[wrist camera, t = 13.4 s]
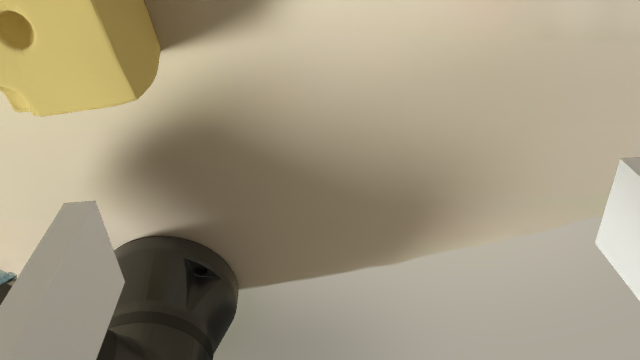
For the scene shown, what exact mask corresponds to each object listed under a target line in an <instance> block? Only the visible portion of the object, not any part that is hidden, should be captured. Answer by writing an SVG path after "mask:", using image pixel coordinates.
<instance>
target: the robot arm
mask: <svg viewBox="0 0 640 360" xmlns="http://www.w3.org/2000/svg"><path fill="white" fill-rule="evenodd" d="M595 244H596V245H597V247H598V248H599V249H600V250H601V252H602V253H603V254H604V256H605V257H606V258H607V259H608V261H609V262H610V263H611V264H612V266H613V267H614V268H615V270H616V271H617V272H618V273H619V275H620V276H621V277H622V279H623V280H624V281H625V283H626V284H627V285H628V287H629V288H630V289H631V290H632V291H633V293H634V294H635V296H636V297H637V298H638V299H639V300H640V157H635V158H623V159H620V162H619V165H618V168H617V172H616V175H615V178H614V182H613V185H612V188H611V192H610V195H609V198H608V202H607V205H606V208H605V211H604V215H603V218H602V221H601V225H600V228H599V232H598V235H597V238H596V242H595ZM16 276H17V275H16V274H14V273H12V272H10V273H7V272H4V271H2V270H0V360H213V355H214V353H215V351H216V349H217V348H218V346H219V344H220V342H221V341H222V339H223V337H224V335H225V333H226V332H227V330H228V328H229V326H230V325H231V323H232V321H233V319H234V316H235V313H236V308H237V300H238V284H237V280H236V278H235V275H234V273H233V271H232V270H231V268H230V267H229V266H228V264H227V263H226V262H225V261H224V260H223V259H222V258H221V257H220V256H218V255H217V254H216V253H214V252H213V251H211V250H210V249H208V248H206V247H204V246H202V245H200V244H197V243H195V242H192V241H188V240H185V239H180V238H174V237H148V238H142V239H138V240H135V241H132V242H129V243H127V244H125V245H123V246H121V247H119V248H118V249H116V250H115V251H114V250H113V248H112V245H111V242H110V239H109V237H108V234H107V231H106V228H105V226H104V223H103V220H102V218H101V215H100V212H99V209H98V207H97V204H96V201H85V202H73V203H64V204H63V206H62V208H61V209H60V211H59V212H58V214H57V216H56V217H55V219H54V220H53V222H52V224H51V225H50V227H49V228H48V230H47V232H46V233H45V235H44V236H43V238H42V240H41V241H40V243H39V244H38V246H37V248H36V249H35V251H34V252H33V254H32V256H31V257H30V259H29V260H28V262H27V264H26V265H25V267H24V268H23V270H22V272H21V273H20V275H19V276H18V278H17V277H16Z"/></svg>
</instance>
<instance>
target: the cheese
mask: <svg viewBox="0 0 640 360" xmlns="http://www.w3.org/2000/svg"><path fill="white" fill-rule="evenodd" d="M160 52H161V48H160V45H159V42H158V39H157V36H156V33H155V30H154V27H153V25H152V22H151V19H150V16H149V13H148V10H147V8H146V5H145V2H144V0H0V91H2V92H3V93H4V95H5V96H6V97H7V99H8V101H9V103H10V105H11V107H12V108H13V110H14V111H16V112H31V113H32V114H33V115H35V116H51V115H57V114H63V113H69V112H76V111H83V110H91V109H99V108H105V107H111V106H116V105H121V104H125V103H128V102H131V101H134V100H137V99H138V98H139V97H140V96H141V95H142V94H143V93H144V92H145V91H146V90H147V89H148V88H149V87H150V85H151V84H152V83H153V81H154V79H155V77H156V74H157V70H158V64H159V56H160Z"/></svg>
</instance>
